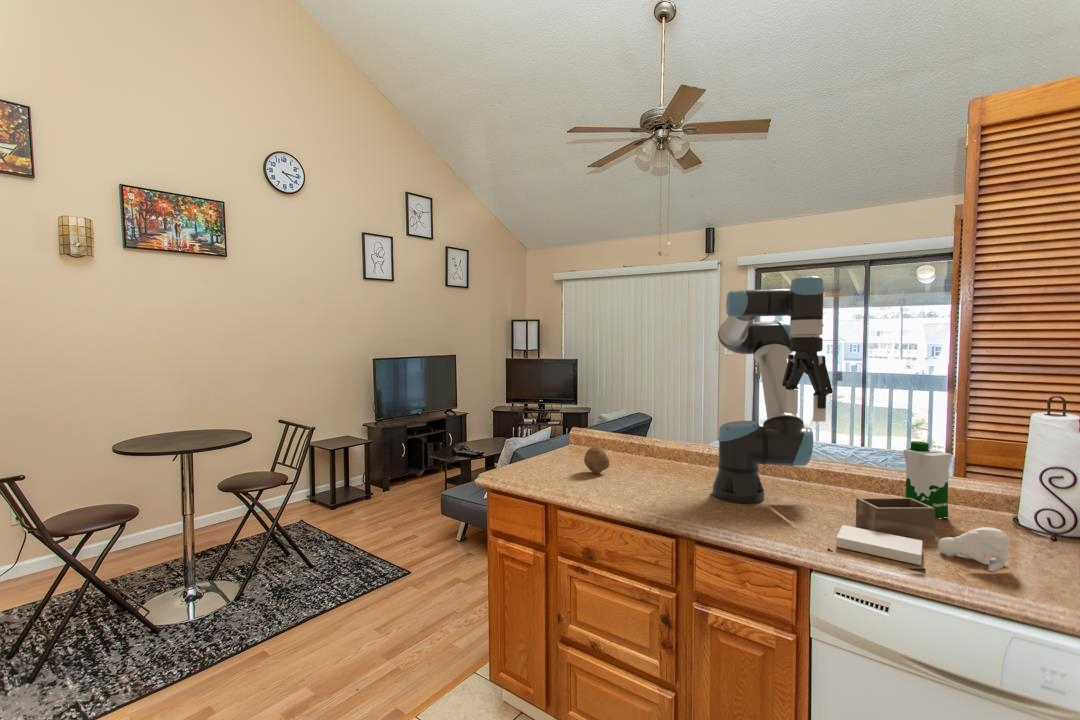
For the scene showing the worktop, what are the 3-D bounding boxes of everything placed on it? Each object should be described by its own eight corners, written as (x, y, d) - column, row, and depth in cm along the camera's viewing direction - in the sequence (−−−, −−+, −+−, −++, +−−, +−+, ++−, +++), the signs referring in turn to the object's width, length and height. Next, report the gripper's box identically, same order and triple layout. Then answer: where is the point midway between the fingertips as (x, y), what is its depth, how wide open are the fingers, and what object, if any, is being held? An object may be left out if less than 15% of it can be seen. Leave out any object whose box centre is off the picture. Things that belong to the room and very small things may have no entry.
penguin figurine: (1008, 535, 101) (934, 525, 110) (1013, 577, 101) (938, 564, 109) (1008, 526, 106) (937, 518, 114) (1012, 566, 106) (941, 555, 114)
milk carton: (921, 508, 142) (923, 440, 142) (955, 519, 134) (957, 446, 133) (897, 511, 140) (899, 442, 139) (930, 523, 131) (932, 448, 130)
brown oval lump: (579, 471, 185) (579, 445, 184) (599, 468, 189) (599, 443, 188) (591, 477, 177) (591, 450, 176) (612, 474, 180) (612, 447, 180)
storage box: (855, 528, 128) (856, 498, 128) (910, 528, 128) (910, 497, 128) (876, 540, 120) (877, 508, 120) (934, 540, 120) (935, 508, 120)
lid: (842, 536, 122) (842, 524, 122) (922, 553, 112) (922, 540, 112) (836, 549, 115) (836, 537, 114) (921, 569, 105) (921, 555, 105)
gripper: (850, 336, 117) (848, 425, 118) (796, 336, 142) (795, 410, 142) (818, 336, 117) (816, 425, 118) (770, 336, 142) (769, 410, 142)
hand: (804, 417), depth 130 cm, fingers open, 13 cm apart
